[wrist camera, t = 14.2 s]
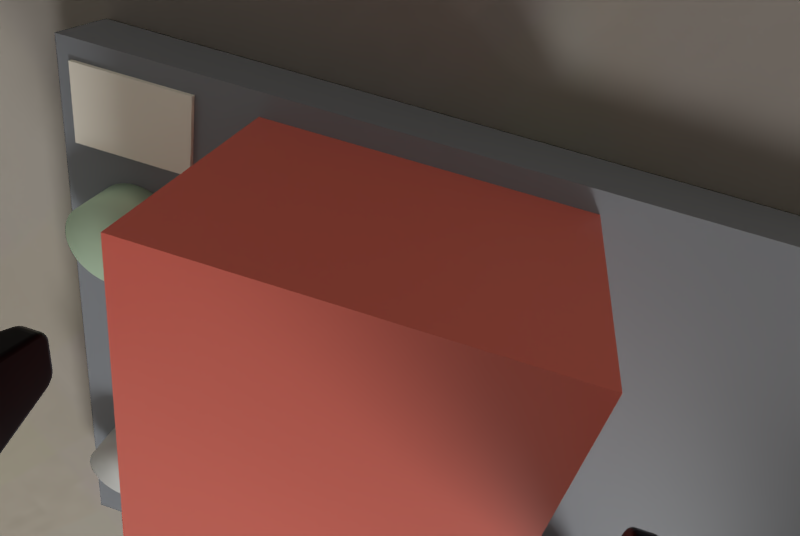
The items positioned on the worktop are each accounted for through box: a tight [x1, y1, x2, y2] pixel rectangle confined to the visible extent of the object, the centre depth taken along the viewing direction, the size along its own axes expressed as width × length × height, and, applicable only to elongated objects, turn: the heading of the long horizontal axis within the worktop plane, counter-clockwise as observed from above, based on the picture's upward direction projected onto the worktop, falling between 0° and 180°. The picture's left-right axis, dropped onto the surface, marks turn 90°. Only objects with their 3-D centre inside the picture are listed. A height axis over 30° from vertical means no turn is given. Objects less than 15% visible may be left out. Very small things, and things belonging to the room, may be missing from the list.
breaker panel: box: [55, 19, 800, 536], centre depth 14 cm, size 18×14×2 cm
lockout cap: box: [101, 117, 622, 536], centre depth 10 cm, size 6×6×4 cm
